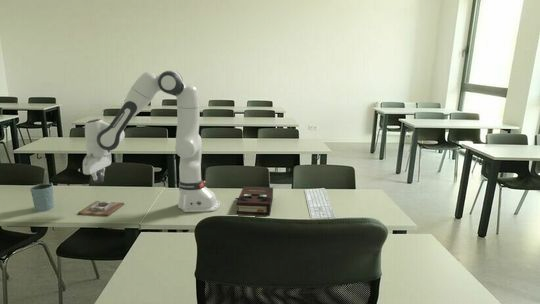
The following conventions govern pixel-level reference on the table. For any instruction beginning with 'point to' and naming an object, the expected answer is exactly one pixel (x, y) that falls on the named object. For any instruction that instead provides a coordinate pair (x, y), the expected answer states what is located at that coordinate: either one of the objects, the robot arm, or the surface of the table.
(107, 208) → the board
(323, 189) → the keyboard
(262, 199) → the decorative book
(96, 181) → the black cap
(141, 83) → the robot arm
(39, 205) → the blue cup
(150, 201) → the table surface
